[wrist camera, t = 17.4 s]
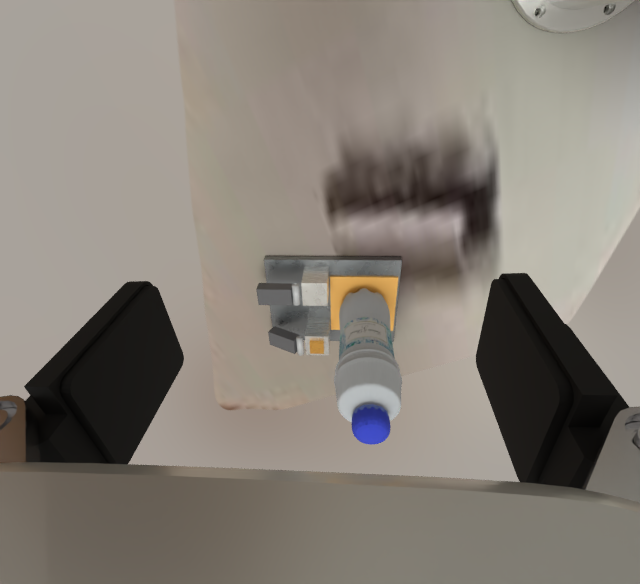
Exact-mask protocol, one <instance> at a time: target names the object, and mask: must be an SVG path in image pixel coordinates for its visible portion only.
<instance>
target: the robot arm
mask: <svg viewBox="0 0 640 584" xmlns="http://www.w3.org/2000/svg"><path fill="white" fill-rule="evenodd" d="M633 1H635V0H512V2H513V4H514V6H515V8H516V9H517V11H518V12H519V13H520V14H521V15H522V17H523V18H524V19H525V20H526V21H527V22H529V23H530V24H532V25H533V26H535V27H536V28H539V29H542V30H545V31H548V32H556V33H568V32H577V31H581V30H585V29H589V28H592V27H594V26H597V25H599V24H601V23H603V22H606V21H607V20H609V19H611V18H612V17H614V16H615V15H617V14H618V13H620V12H621V11H623V10H624V9H625V8H626V7H628V6H629V5H630V4H631V3H632V2H633ZM605 6H606V11H605V12H604V7H605ZM536 9H538V14H537V15H536V16H535V10H536ZM183 360H184V356H183V352H182V349H181V347H180V344H179V342H178V339H177V337H176V334H175V331H174V329H173V326H172V324H171V321H170V319H169V316H168V313H167V311H166V308H165V305H164V303H163V300H162V298H161V295H160V292H159V290H158V288H157V287H155V286H153V285H152V284H151V283H150V282H148V281H142V282H141V281H139V282H127V283H126V284H124V285H123V286H122V287H121V289H119V290H118V291H117V293H115V294H114V296H113V297H112V298H111V299H110V300H109V301H108V302H107V303H106V304H105V305H104V306H103V307H102V308H101V309H100V310H99V311H98V312H97V313H96V314H95V315H94V316H93V317H92V318H91V319H90V320H89V321H88V322H87V323H86V324H85V325H84V326H83V327H82V328H81V329H80V331H78V332H77V333H76V334H75V335H74V337H72V338H71V339H70V340H69V341H68V342H67V344H65V346H63V348H62V349H61V350H60V351H59V352H58V353H57V354H56V355H55V356H54V357H53V358H52V359H51V360H50V361H49V362H48V363H47V364H46V365H45V366H44V367H43V368H42V369H41V370H40V371H39V372H38V373H37V374H36V375H35V376H34V377H33V378H32V379H31V380H30V381H29V382H28V383H27V384H26V385H25V386H24V387H25V388H26V390H27V391H28V392H29V394H30V397H29V398H28V399H27V400H26V401H24V399H22V398H20V397H19V396H12V395H9V396H2V397H0V584H640V407H629V406H628V405H627V404H626V402H625V401H624V399H623V398H622V397H621V395H620V394H619V393H618V391H617V390H616V389H615V387H614V386H613V385H612V383H611V382H610V381H609V379H608V378H607V377H606V375H605V374H604V373H603V371H602V370H601V369H600V367H599V366H598V365H597V364H596V362H595V361H594V359H593V358H592V357H591V356H590V354H589V353H588V351H587V350H586V349H585V347H584V346H583V345H582V343H581V342H580V341H579V339H578V338H577V337H576V335H575V334H574V333H573V331H572V330H571V329H570V328H569V327H568V326H567V325H566V324H564V323H563V321H562V320H561V319H560V317H559V316H558V314H557V313H556V312H555V310H554V309H553V308H552V306H551V305H550V304H549V302H548V301H547V300H546V298H545V297H544V296H543V294H542V293H541V291H540V290H539V289H538V287H537V286H536V285H535V283H534V282H533V281H532V279H531V278H530V277H529V275H528V274H526V273H511V274H501V276H500V277H499V279H494V280H493V281H492V284H491V288H490V293H489V297H488V302H487V307H486V311H485V316H484V321H483V326H482V330H481V335H480V340H479V344H478V349H477V354H476V364H477V368H478V371H479V374H480V377H481V379H482V382H483V385H484V387H485V390H486V393H487V396H488V398H489V401H490V404H491V406H492V409H493V412H494V415H495V417H496V420H497V422H498V425H499V428H500V431H501V434H502V436H503V439H504V441H505V444H506V447H507V450H508V453H509V455H510V458H511V461H512V463H513V466H514V469H515V471H516V474H517V477H518V479H519V481H520V482H508V481H492V480H475V479H460V478H442V477H422V476H421V477H419V476H399V475H378V474H377V475H376V474H355V473H334V472H311V471H286V470H263V469H237V468H213V467H186V466H157V465H128V463H129V461H130V460H131V458H132V456H133V454H134V452H135V450H136V449H137V447H138V445H139V443H140V441H141V440H142V438H143V436H144V434H145V432H146V431H147V429H148V427H149V425H150V423H151V421H152V420H153V418H154V416H155V414H156V412H157V410H158V409H159V407H160V405H161V403H162V401H163V400H164V398H165V396H166V394H167V392H168V391H169V389H170V387H171V385H172V383H173V382H174V380H175V378H176V376H177V374H178V372H179V371H180V369H181V367H182V365H183Z"/></svg>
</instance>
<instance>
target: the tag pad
mask: <svg viewBox="0 0 640 584" xmlns="http://www.w3.org/2000/svg"><path fill="white" fill-rule="evenodd" d="M397 287H398V276H330V301H331V330H340V324H339V312H340V307H341V305H342V303H343V301H344V299H345V297H346V295H347V294H349V293H356V292H358V291H360V289H362V288H366V289H368V290H369V291H370V292H373V293H375V292H378V293H380V294H381V295H382V296H383V298H384V300H385V301H386V303H387V305H388V308H389V311H390V330H391V331H393V327H394V317H395V307H396V297H397Z"/></svg>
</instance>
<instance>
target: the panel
mask: <svg viewBox="0 0 640 584" xmlns="http://www.w3.org/2000/svg"><path fill="white" fill-rule="evenodd" d="M264 264H265V272H266V280H267V283H292V284H294V283H298V284H299V288H300V301H301V304H300V305H298V306H295V305H293V303H292V305H270V311H271V318H272V326H273V327H274V326H276V327H279V328H281V329H284V330H287V331H290V332H293V333H296V334H298V335H299V336H303V340H305V344H306V355H329V345H330V341H340V330H331V301H330V276H398V287H397V297H396V307H395V317H394V327H393V331H391V337H392V342H394V332H395V322H396V312H397V303H398V293H399V283H400V274H401V264H402V259H401V257H371V256H265V258H264Z"/></svg>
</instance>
